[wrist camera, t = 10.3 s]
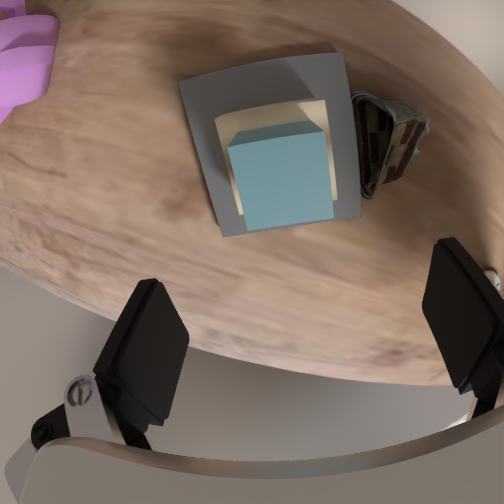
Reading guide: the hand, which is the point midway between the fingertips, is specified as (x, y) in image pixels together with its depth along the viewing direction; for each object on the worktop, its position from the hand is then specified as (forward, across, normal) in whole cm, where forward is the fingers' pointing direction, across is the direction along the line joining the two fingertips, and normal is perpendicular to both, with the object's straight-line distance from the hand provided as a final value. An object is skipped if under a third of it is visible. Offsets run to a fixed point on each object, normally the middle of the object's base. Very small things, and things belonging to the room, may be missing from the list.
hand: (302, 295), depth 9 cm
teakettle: (+22, +30, -24) cm, 44 cm away
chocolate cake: (+23, -12, +1) cm, 26 cm away
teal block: (+16, 0, 0) cm, 16 cm away
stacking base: (+22, 0, 0) cm, 22 cm away
